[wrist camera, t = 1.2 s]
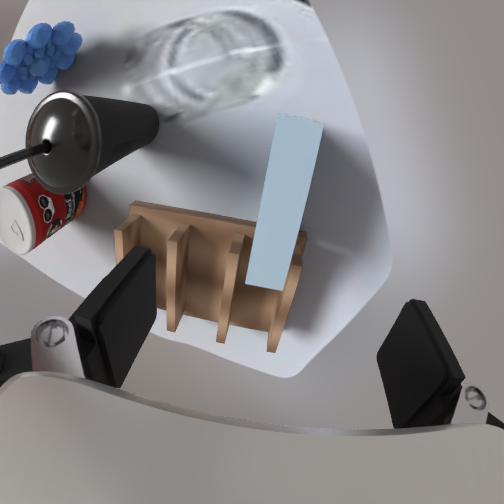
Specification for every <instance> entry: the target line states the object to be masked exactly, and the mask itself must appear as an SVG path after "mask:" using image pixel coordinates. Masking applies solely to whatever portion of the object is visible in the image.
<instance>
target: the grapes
mask: <svg viewBox="0 0 504 504" xmlns="http://www.w3.org/2000/svg"><path fill="white" fill-rule="evenodd" d="M74 31H75V28H74V25H73V24H72V23H71V22H67V21H63V22H60V23H58V24H57V25H55V26H54V27H53V29H52V28H51V26H50V25H49V24H47V23H40V24H37V25H35V26H34V27H33V28H32V29H31V30H30V31H29V33H28V35H27V38H26V40H25V41H24V40H22V39H16V40H14V41H12V42H10V43H9V44H8V45H7V47H6V48H5V50H4V52H3V60H4V61H2V62H1V63H0V84H1V89H2V91H3V92H4V93H6V94H15V93H16V92H17V91H18V89H19V90H20V92H22V93H26V94H30V93H32V92H33V91H34V89H35V88H36V86H37V84H38V80H39V82H41V83H43V84H51V83H52V82H53V81H54V80H55V78H56V76H57V73H58V69H61V70H65V69H68V68H69V67H70V66H71V65H72V63H73V61H74V58H75V53H76V52H77V51H78V50H79V48H80V46H81V44H82V37H81V35H80V34H78V33H74Z"/></svg>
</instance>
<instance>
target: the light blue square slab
mask: <svg viewBox="0 0 504 504" xmlns="http://www.w3.org/2000/svg"><path fill="white" fill-rule="evenodd" d="M323 127H324V124H323V123H319V122H316V121H312V120H309V119H305V118H300V117H296V116H291V115H286V114H281V113H278V115H277V120H276V125H275V130H274V136H273V141H272V146H271V151H270V156H269V161H268V167H267V172H266V177H265V182H264V187H263V193H262V198H261V203H260V208H259V213H258V219H257V224H256V229H255V234H254V240H253V245H252V250H251V255H250V260H249V266H248V271H247V276H246V281H245V284H249V285H254V286H259V287H264V288H269V289H275V290H280V291H283V288H284V284H285V280H286V277H287V273H288V270H289V266H290V262H291V259H292V255H293V251H294V247H295V244H296V240H297V236H298V232H299V228H300V224H301V220H302V216H303V212H304V208H305V204H306V200H307V196H308V192H309V188H310V184H311V180H312V176H313V171H314V167H315V163H316V158H317V154H318V150H319V145H320V141H321V136H322V132H323Z"/></svg>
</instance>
